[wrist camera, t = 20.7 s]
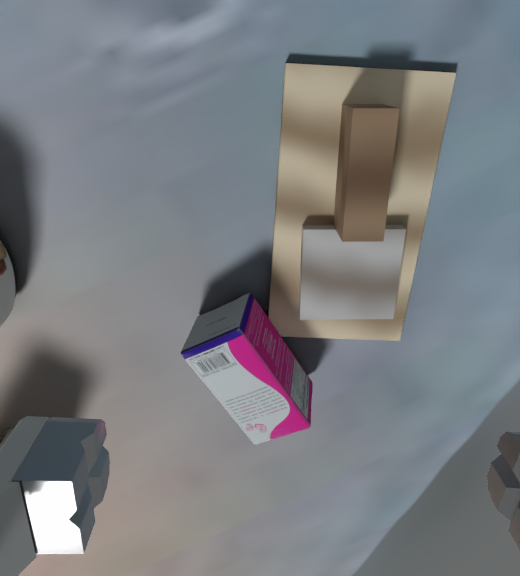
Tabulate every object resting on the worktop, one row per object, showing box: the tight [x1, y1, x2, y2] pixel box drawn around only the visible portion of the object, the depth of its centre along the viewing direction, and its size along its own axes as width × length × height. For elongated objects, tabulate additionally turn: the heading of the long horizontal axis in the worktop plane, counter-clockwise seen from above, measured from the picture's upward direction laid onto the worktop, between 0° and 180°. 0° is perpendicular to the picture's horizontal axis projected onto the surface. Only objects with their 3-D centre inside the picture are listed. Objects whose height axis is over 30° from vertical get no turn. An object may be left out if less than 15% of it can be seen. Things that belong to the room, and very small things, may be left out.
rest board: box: [268, 63, 456, 341], centre depth 37 cm, size 22×12×1 cm, turn 177°
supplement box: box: [181, 293, 312, 445], centre depth 40 cm, size 6×6×12 cm
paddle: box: [298, 104, 406, 320], centre depth 35 cm, size 17×8×4 cm, turn 0°
